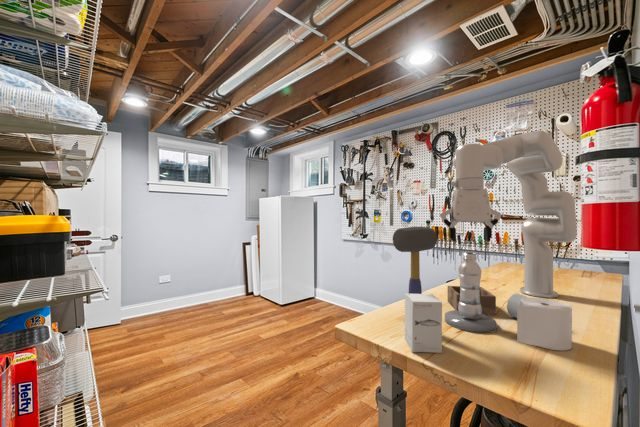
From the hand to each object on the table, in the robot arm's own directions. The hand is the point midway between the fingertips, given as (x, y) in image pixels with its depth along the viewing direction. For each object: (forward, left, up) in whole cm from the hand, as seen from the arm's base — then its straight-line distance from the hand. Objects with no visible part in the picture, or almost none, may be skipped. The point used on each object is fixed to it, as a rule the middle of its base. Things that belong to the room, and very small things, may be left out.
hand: (469, 240), depth 86 cm
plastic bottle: (0, 0, -24) cm, 24 cm away
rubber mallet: (+6, -17, -26) cm, 31 cm away
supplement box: (+18, -17, -26) cm, 36 cm away
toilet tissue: (+10, +15, -26) cm, 31 cm away
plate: (0, 0, -25) cm, 25 cm away
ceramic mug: (-6, +19, -26) cm, 33 cm away
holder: (-15, +5, -25) cm, 30 cm away
